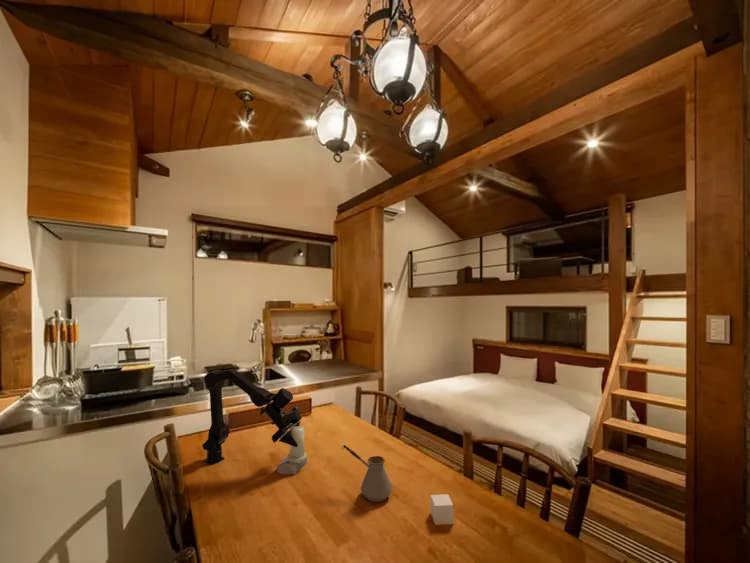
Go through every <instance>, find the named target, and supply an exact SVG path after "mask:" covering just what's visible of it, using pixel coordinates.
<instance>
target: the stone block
mask: <svg viewBox="0 0 750 563" xmlns="http://www.w3.org/2000/svg"><path fill="white" fill-rule="evenodd" d="M307 462H308V458H306V460H305V461H303V462H300V463H290V462H288V460H287V456H286V457H285V458H283V459H282V460H281V461H280V463H278V464H277V466H276V471H277V473H278V474H281V475H290V474H292V475H293V476H295V474H296V475H297V474H298V473H299V472H300V470H302V468H303V467H305V465H306V464H307Z"/></svg>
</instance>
